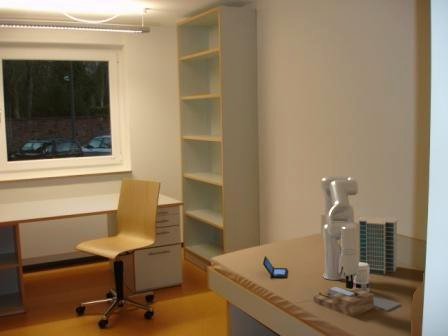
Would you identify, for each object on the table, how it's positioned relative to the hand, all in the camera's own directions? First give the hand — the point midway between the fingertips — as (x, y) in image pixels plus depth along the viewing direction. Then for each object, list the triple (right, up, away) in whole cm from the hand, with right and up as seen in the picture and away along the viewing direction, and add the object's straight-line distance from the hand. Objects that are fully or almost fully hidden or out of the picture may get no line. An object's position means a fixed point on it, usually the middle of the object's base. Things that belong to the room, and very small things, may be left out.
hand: (349, 287), depth 233 cm
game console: (-30, -6, +54) cm, 62 cm away
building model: (+31, -3, +55) cm, 63 cm away
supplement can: (+12, -7, +21) cm, 25 cm away
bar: (-2, -7, +5) cm, 9 cm away
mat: (+16, -9, +5) cm, 19 cm away
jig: (-2, -10, +5) cm, 11 cm away
